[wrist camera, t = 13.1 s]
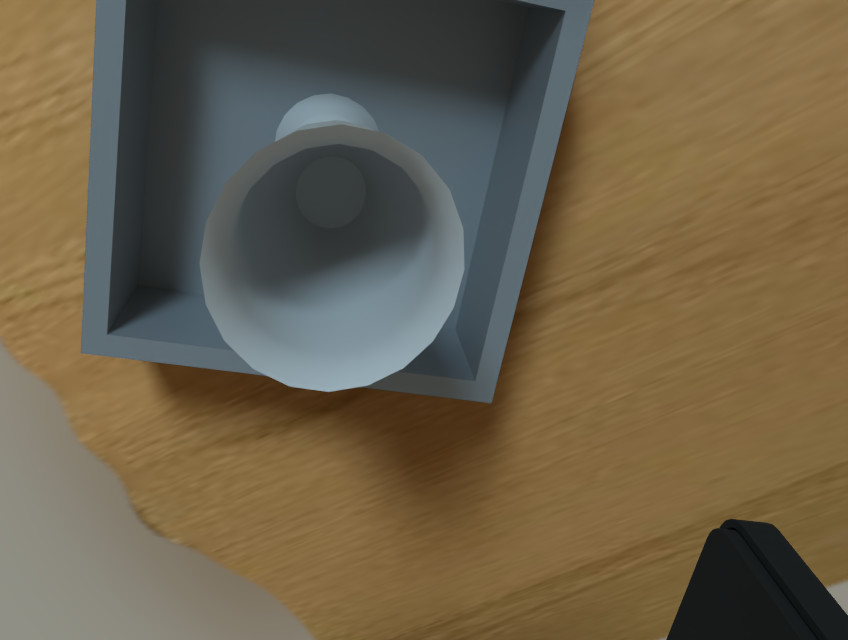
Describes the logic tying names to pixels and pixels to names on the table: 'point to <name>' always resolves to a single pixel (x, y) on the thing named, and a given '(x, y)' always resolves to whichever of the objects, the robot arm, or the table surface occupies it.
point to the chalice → (332, 251)
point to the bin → (256, 128)
